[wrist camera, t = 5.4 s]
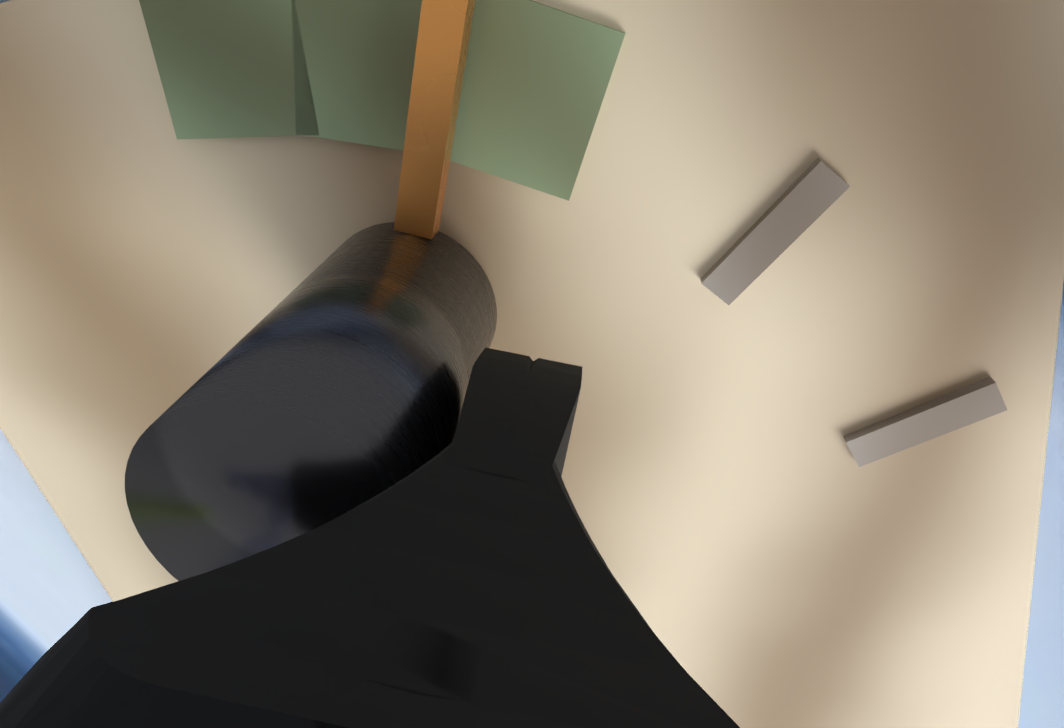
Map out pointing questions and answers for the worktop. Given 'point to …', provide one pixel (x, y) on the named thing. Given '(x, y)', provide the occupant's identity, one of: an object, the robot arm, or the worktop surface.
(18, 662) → the worktop surface
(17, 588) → the worktop surface
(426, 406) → the lever
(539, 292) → the dial board
